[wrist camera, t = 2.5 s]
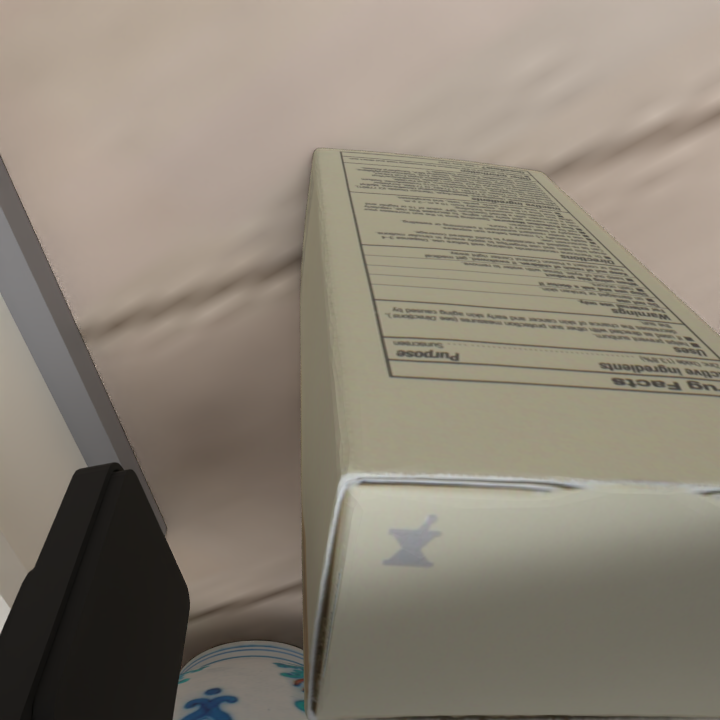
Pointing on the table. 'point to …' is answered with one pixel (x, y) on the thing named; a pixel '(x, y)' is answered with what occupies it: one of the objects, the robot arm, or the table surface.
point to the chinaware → (243, 683)
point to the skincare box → (499, 456)
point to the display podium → (43, 401)
